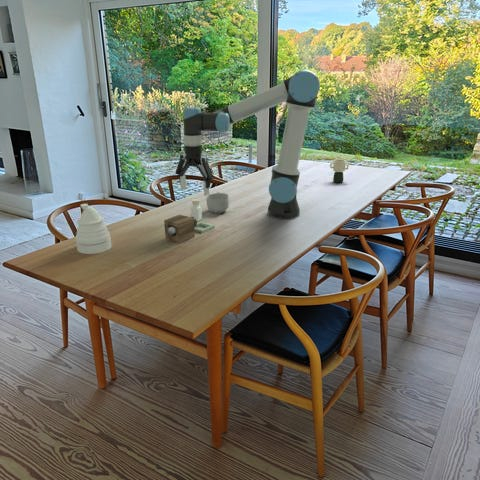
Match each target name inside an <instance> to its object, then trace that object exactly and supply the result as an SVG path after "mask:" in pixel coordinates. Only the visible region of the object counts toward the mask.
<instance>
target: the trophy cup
mask: <svg viewBox="0 0 480 480" xmlns="http://www.w3.org/2000/svg"><path fill="white" fill-rule="evenodd" d="M349 166H350V165H349V164H348V163H346V159H341V158H337V159H333V162H330V165H329V167H330V169H332V170H333V172H334V173H333V178H332V181H333V182H335V183H341V182H344V172H345V171H346V170H349Z"/></svg>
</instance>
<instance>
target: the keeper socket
mask: <svg viewBox="0 0 480 480" xmlns="http://www.w3.org/2000/svg"><path fill="white" fill-rule="evenodd" d="M198 227H204V228H198ZM213 229H215V225H214V224H210V223H206V222H201V221H198V222H197V226H196V227H195V228H194V231H195V233H201V234H204V233H206V232H209V231H211V230H213Z"/></svg>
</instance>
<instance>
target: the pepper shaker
mask: <svg viewBox="0 0 480 480" xmlns="http://www.w3.org/2000/svg"><path fill="white" fill-rule="evenodd" d="M191 204H192V206H191V207H190V217H194V218H195V219H196V220H197V222H201V220H202V219H203V215H202V214H203V212H202V211H203V210H202V209H203V208H202V205H201V206H200V199H198V198H194V199H192V200H191Z"/></svg>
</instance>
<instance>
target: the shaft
mask: <svg viewBox="0 0 480 480" xmlns="http://www.w3.org/2000/svg"><path fill="white" fill-rule="evenodd" d="M192 218H194V217H192ZM197 223H198V221H197V220H196V219H195V218H194V228H195V227H196V226H197ZM196 228H197V227H196ZM168 233H169V234H170V235H172V234H175V233H176V229H175V226H172V227H170V228H168Z"/></svg>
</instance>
